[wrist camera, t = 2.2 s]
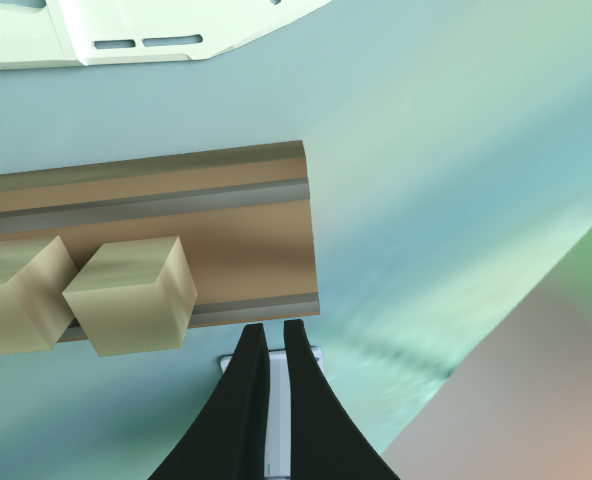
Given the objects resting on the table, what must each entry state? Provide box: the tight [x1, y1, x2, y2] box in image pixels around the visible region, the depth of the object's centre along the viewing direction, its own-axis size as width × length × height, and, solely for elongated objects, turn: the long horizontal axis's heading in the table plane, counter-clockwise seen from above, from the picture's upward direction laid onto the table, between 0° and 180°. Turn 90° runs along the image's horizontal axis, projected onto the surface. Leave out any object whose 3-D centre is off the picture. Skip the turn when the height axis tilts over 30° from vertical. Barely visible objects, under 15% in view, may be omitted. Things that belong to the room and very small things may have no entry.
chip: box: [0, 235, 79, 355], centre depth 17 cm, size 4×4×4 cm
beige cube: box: [62, 236, 198, 357], centre depth 17 cm, size 4×4×4 cm
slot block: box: [0, 140, 320, 343], centre depth 20 cm, size 10×22×4 cm, turn 96°
